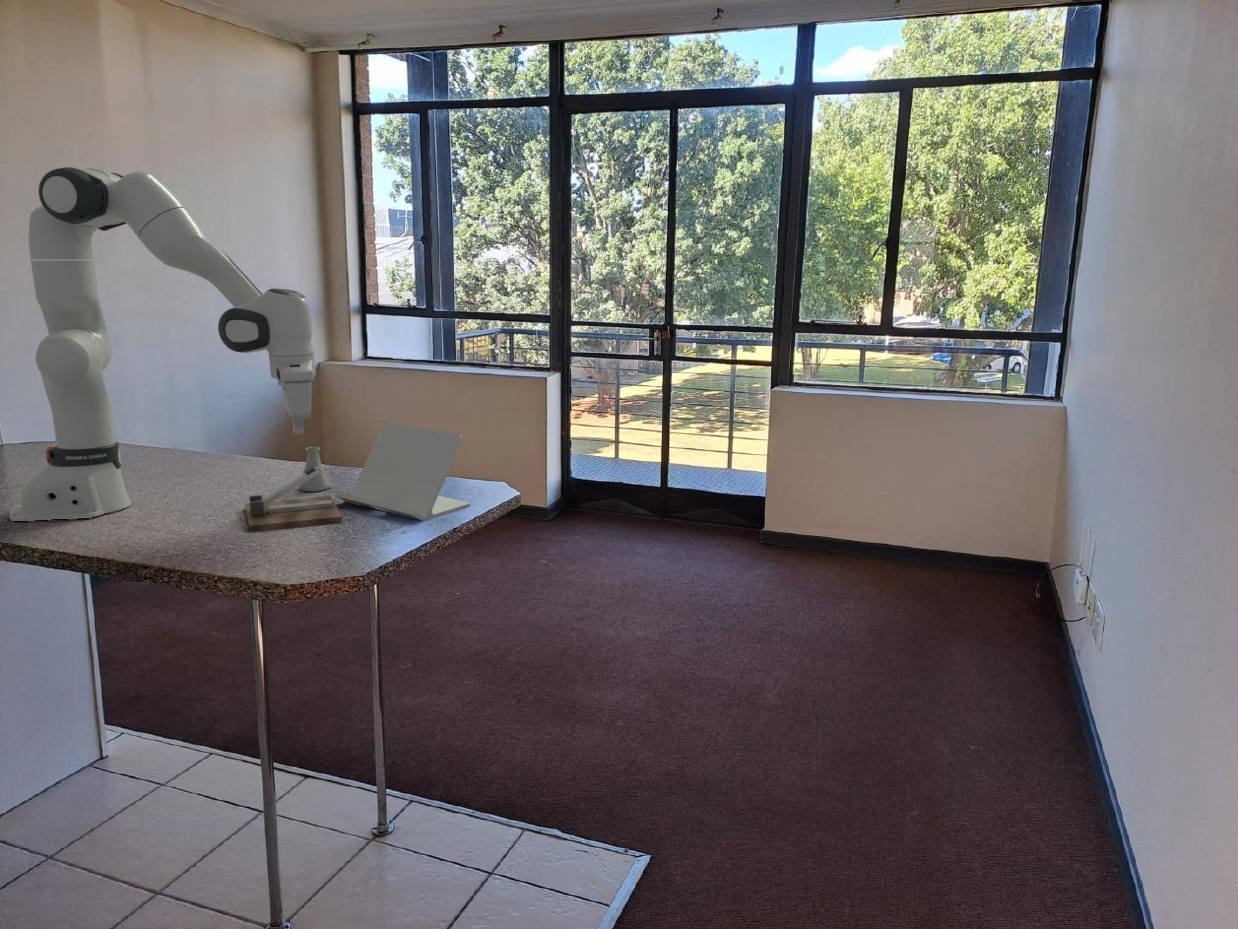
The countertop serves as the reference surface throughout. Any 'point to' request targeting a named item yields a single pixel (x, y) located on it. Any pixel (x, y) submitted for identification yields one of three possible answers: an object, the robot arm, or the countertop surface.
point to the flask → (319, 480)
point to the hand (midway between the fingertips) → (298, 433)
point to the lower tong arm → (284, 506)
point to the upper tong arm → (291, 485)
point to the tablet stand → (408, 472)
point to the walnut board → (293, 515)
